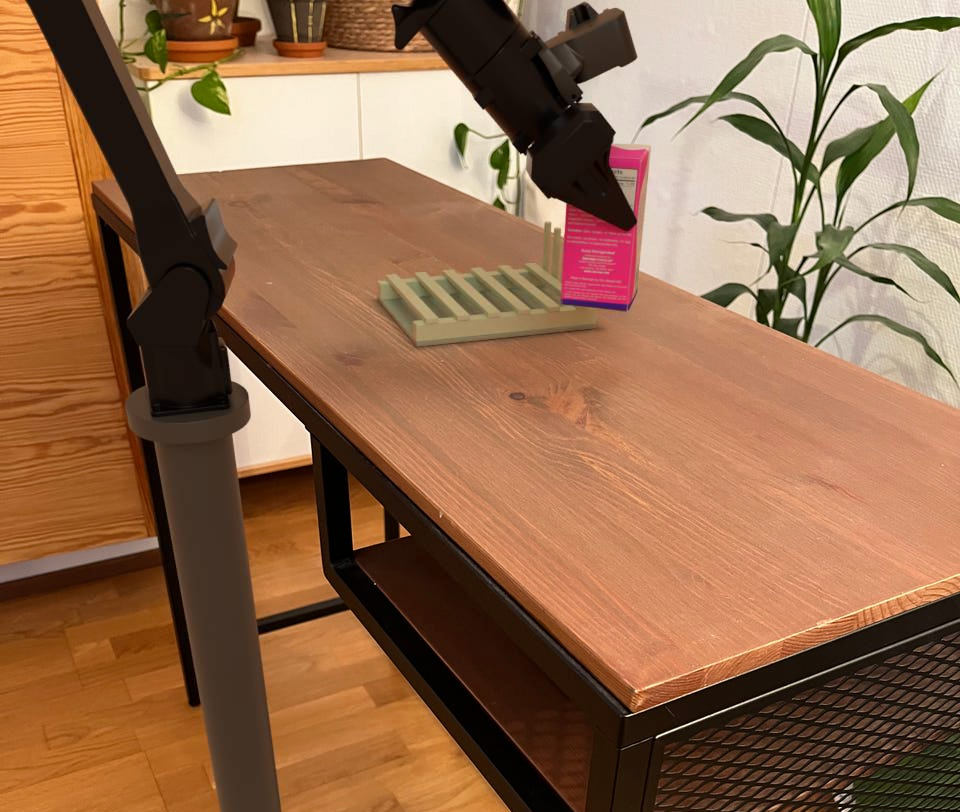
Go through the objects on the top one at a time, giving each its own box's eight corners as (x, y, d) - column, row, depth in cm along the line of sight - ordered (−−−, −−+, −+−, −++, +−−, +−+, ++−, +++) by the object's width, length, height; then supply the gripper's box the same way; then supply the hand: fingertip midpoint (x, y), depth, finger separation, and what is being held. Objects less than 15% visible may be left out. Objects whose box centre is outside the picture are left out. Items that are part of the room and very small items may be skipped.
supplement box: (569, 285, 88) (581, 138, 82) (638, 292, 87) (656, 144, 81) (556, 305, 84) (568, 151, 77) (628, 313, 83) (647, 158, 76)
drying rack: (416, 346, 94) (415, 268, 90) (377, 300, 105) (375, 228, 101) (596, 328, 99) (602, 253, 95) (541, 285, 110) (545, 216, 106)
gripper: (597, -33, 64) (739, 163, 71) (558, -46, 79) (678, 117, 86) (467, 105, 68) (614, 278, 75) (453, 68, 83) (577, 214, 90)
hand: (624, 215), depth 82 cm, fingers closed on supplement box, 7 cm apart
